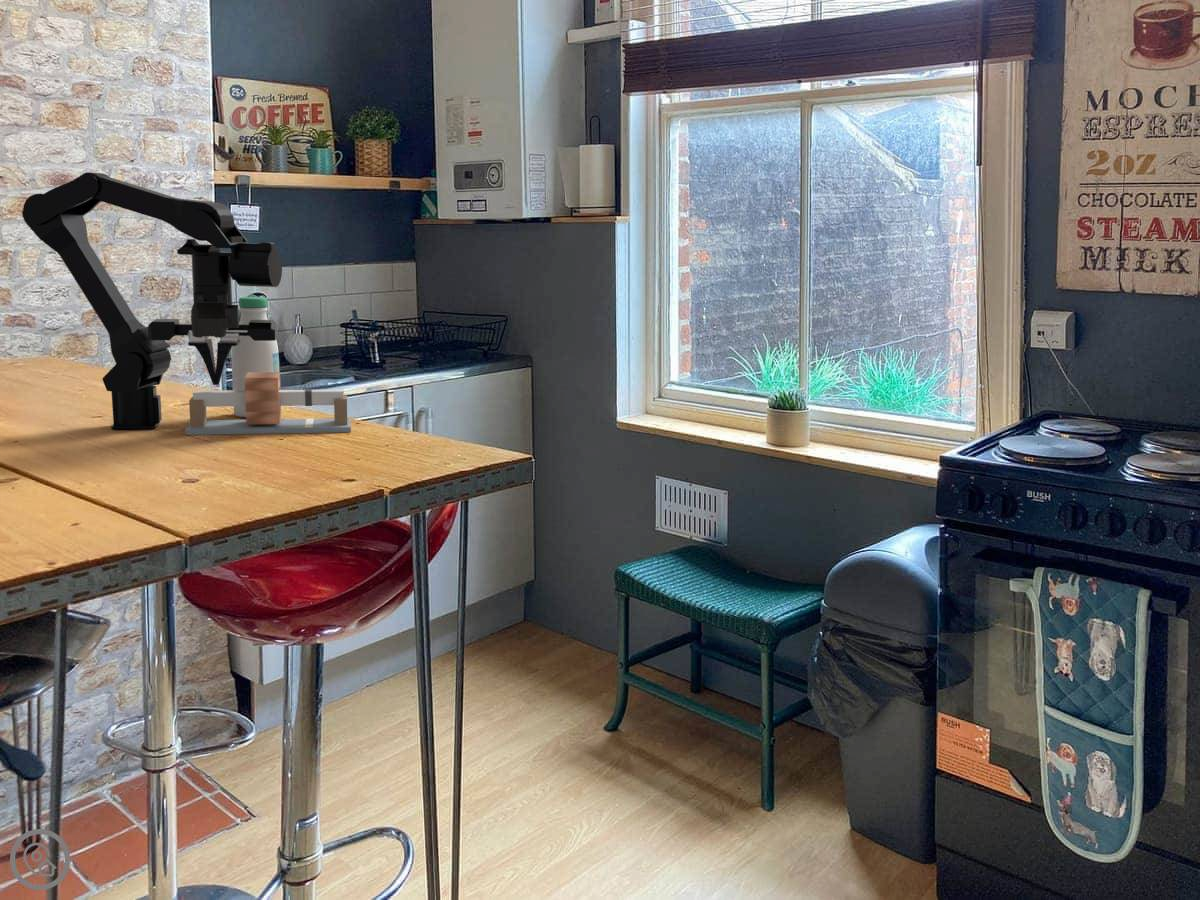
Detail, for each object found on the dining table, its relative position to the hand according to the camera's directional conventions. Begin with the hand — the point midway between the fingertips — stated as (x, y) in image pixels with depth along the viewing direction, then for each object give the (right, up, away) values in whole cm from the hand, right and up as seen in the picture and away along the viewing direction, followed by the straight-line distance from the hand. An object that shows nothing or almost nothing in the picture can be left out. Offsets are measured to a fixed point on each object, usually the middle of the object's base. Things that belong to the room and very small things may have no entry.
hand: (216, 384), depth 180 cm
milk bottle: (+2, -5, +15) cm, 16 cm away
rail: (+8, -7, +3) cm, 11 cm away
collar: (+7, -6, +3) cm, 9 cm away
